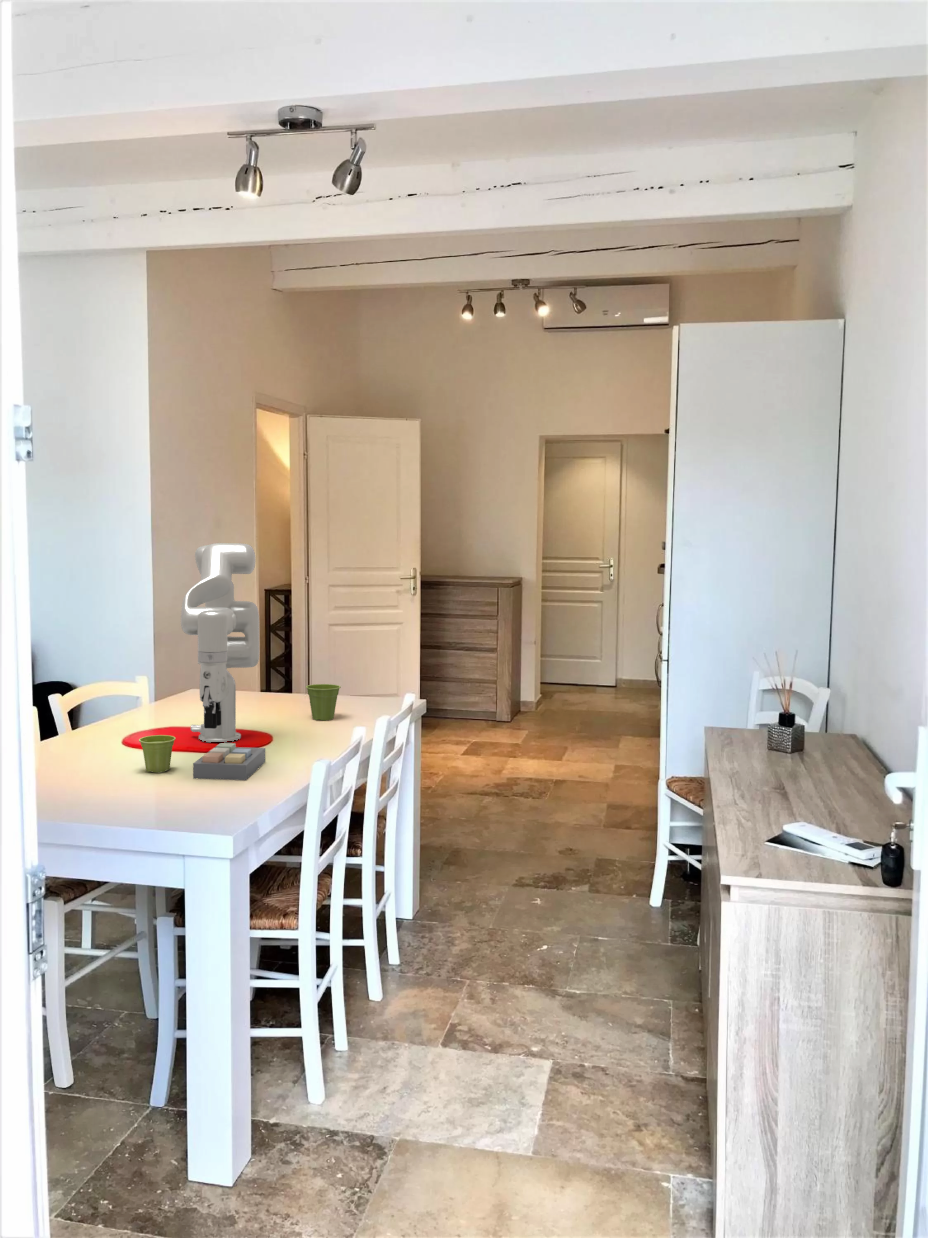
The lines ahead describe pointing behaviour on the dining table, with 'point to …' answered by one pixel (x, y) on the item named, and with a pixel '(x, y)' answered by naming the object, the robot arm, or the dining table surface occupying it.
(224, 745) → the key sage
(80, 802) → the dining table surface
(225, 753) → the key cream
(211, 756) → the key terracotta
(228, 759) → the key ochre
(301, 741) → the dining table surface
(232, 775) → the keypad
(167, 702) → the dining table surface
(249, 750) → the key slate
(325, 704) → the plant pot
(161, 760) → the plant pot
